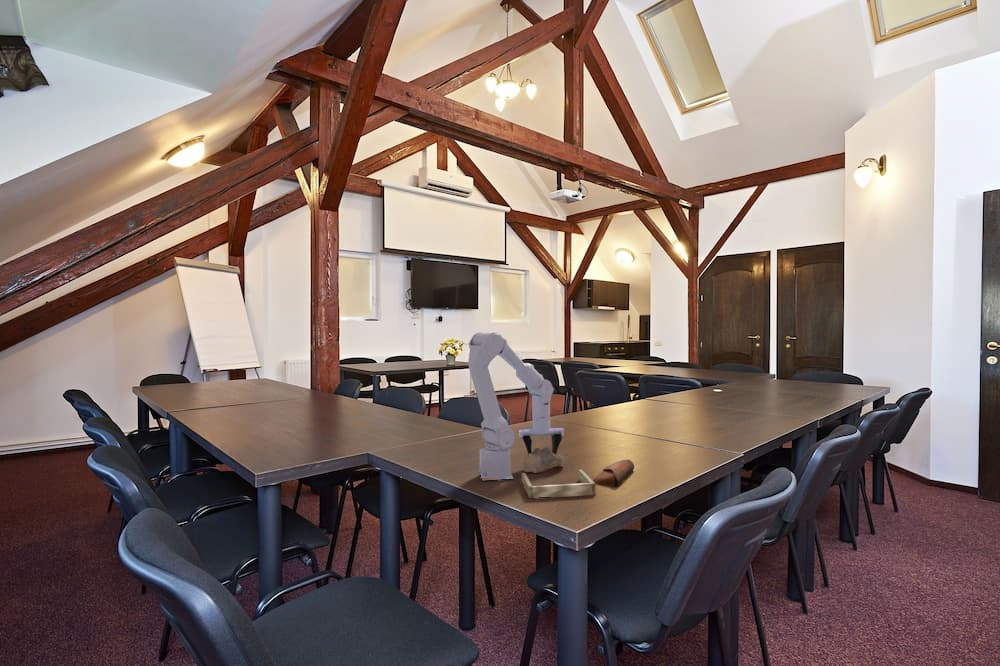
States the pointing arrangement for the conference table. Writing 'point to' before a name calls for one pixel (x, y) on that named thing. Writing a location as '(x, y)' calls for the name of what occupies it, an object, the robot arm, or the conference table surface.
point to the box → (561, 488)
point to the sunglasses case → (614, 473)
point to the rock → (542, 460)
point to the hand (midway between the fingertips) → (542, 458)
